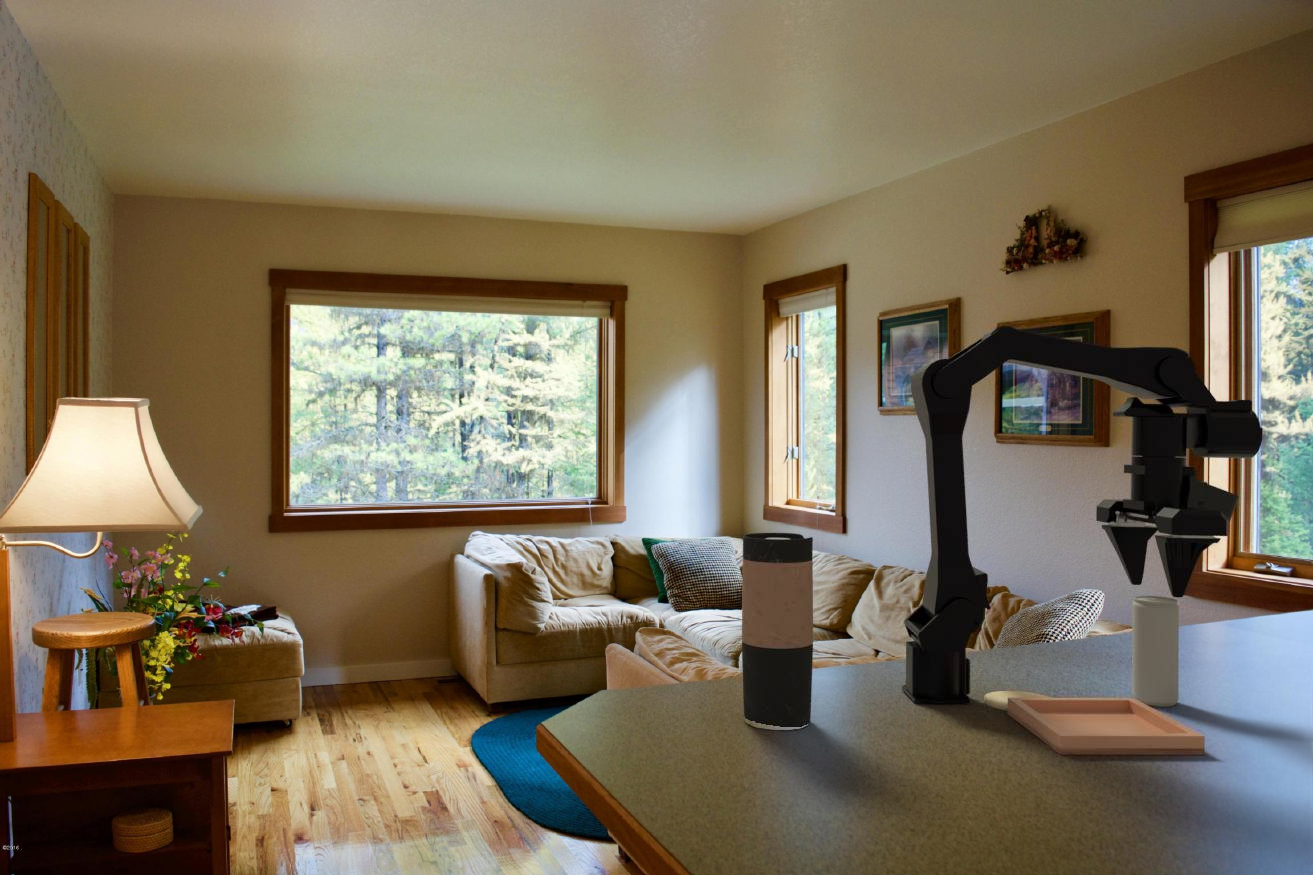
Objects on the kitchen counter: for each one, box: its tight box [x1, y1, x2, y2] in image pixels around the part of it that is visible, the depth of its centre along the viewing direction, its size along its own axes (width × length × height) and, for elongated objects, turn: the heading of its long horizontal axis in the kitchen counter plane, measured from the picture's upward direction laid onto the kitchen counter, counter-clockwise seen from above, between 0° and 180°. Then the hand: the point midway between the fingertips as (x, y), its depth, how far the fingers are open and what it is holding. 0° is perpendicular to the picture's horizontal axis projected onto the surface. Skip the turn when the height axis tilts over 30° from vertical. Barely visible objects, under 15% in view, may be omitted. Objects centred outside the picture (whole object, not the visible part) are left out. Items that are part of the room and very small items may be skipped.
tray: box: [1007, 697, 1206, 756], centre depth 102 cm, size 14×14×2 cm
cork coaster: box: [983, 690, 1052, 712], centre depth 113 cm, size 8×8×1 cm
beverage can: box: [1131, 595, 1180, 708], centre depth 114 cm, size 5×5×12 cm
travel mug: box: [741, 532, 814, 727], centre depth 106 cm, size 8×8×20 cm
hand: (1156, 590), depth 114 cm, fingers open, 9 cm apart
